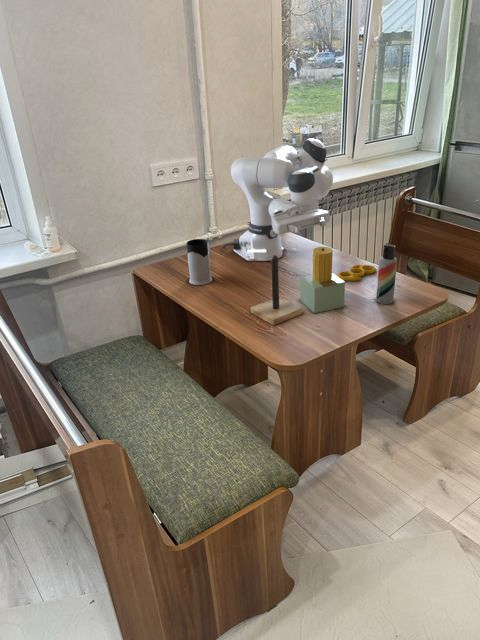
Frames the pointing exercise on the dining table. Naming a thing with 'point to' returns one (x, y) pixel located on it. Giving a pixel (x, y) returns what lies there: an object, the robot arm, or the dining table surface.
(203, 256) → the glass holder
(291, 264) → the dining table surface
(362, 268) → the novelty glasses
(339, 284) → the display block
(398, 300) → the dining table surface
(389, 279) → the lotion bottle
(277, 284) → the peg stand
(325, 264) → the slatted lidded canister
